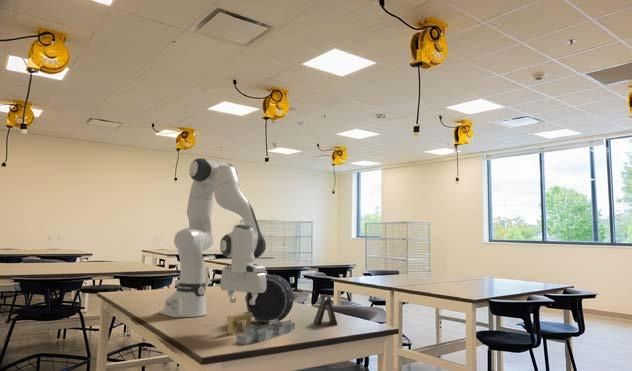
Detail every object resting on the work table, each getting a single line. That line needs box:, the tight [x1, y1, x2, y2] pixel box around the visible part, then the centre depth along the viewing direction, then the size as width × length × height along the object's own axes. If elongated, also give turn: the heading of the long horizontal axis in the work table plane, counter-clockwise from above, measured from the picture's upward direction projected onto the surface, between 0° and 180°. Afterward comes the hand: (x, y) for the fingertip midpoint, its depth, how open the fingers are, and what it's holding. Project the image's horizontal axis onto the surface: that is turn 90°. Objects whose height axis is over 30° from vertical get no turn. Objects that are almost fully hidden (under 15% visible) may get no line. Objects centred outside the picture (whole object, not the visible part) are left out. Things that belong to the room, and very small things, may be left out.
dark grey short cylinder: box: [244, 274, 295, 325], centre depth 179 cm, size 11×20×20 cm, turn 78°
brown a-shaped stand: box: [313, 293, 338, 326], centre depth 180 cm, size 9×6×12 cm, turn 103°
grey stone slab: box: [236, 318, 296, 346], centre depth 156 cm, size 30×7×4 cm, turn 149°
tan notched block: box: [226, 311, 253, 336], centre depth 161 cm, size 11×3×6 cm, turn 149°
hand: (242, 303), depth 161 cm, fingers open, 8 cm apart
